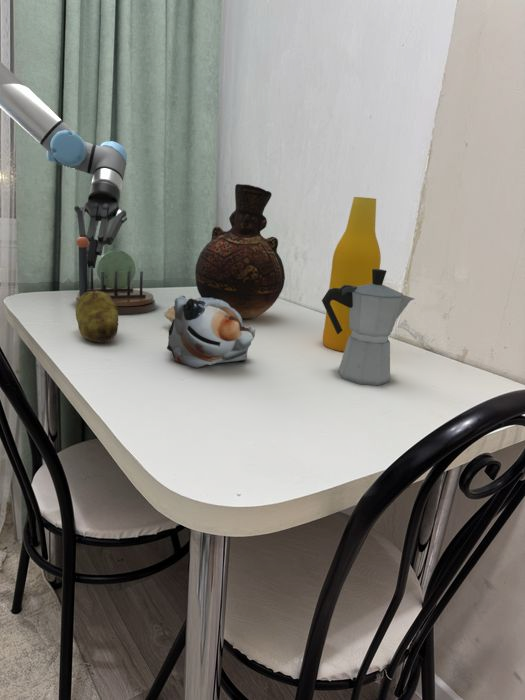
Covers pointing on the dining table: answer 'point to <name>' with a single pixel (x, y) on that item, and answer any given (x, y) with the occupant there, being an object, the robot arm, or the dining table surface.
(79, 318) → the potato
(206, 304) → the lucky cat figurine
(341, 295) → the coffee maker
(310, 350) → the dining table surface
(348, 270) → the beer bottle
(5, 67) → the robot arm
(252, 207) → the ceramic vessel
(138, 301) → the dish rack
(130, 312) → the base
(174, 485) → the dining table surface
